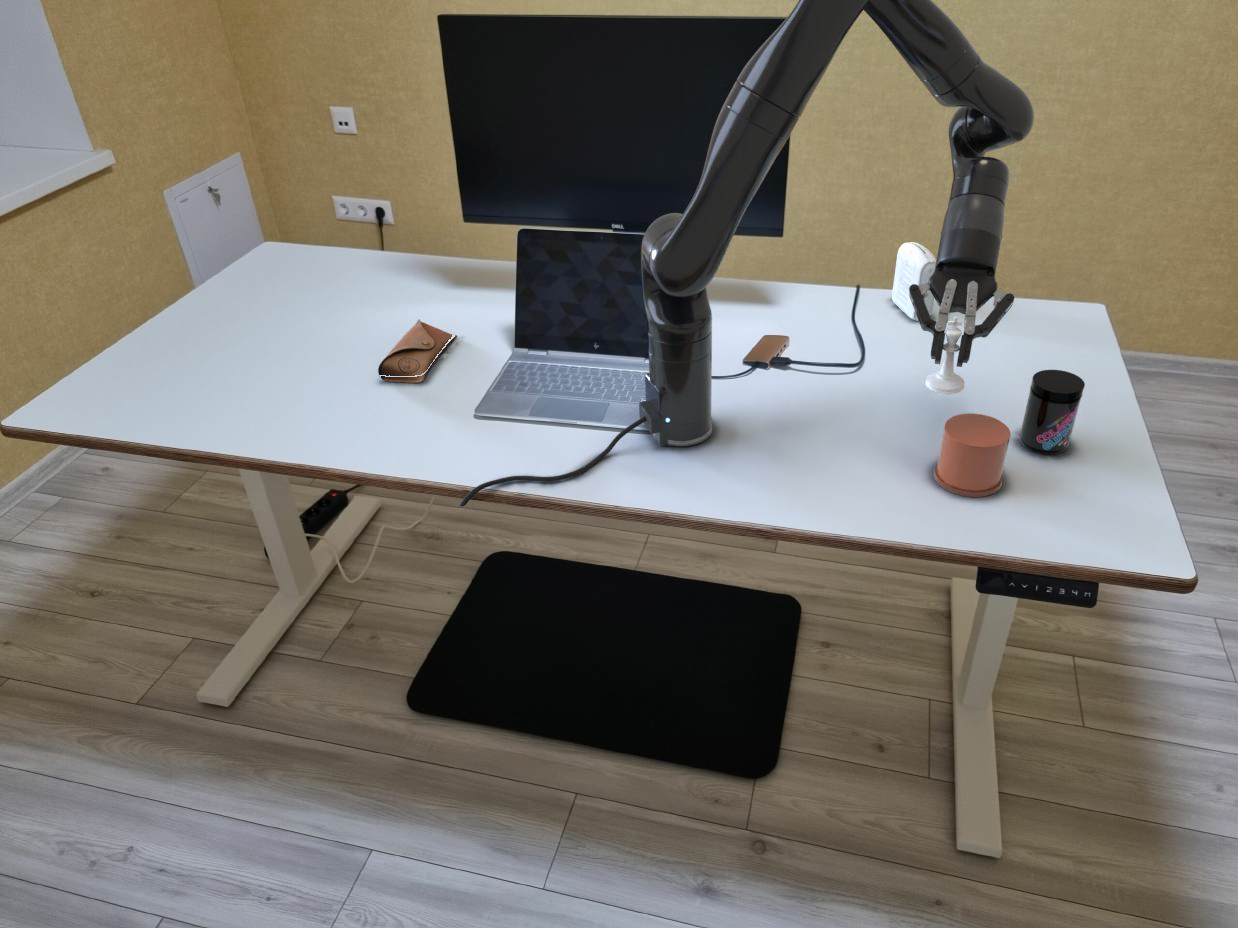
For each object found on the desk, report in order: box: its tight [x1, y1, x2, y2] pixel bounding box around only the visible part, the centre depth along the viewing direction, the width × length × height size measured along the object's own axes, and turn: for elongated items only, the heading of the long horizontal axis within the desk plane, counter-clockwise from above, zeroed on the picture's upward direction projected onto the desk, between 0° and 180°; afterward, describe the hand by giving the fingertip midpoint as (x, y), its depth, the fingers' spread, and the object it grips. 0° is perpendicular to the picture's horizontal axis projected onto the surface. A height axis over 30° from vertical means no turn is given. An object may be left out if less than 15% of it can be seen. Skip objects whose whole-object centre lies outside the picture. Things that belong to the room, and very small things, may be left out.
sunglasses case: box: [377, 318, 458, 384], centre depth 166 cm, size 18×7×7 cm
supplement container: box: [1019, 369, 1086, 456], centre depth 132 cm, size 7×7×10 cm
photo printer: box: [891, 241, 937, 322], centre depth 169 cm, size 10×4×12 cm, turn 11°
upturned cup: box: [933, 412, 1011, 498], centre depth 126 cm, size 9×9×8 cm
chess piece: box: [925, 315, 965, 395], centre depth 121 cm, size 5×5×10 cm
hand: (948, 363), depth 119 cm, fingers closed on chess piece
